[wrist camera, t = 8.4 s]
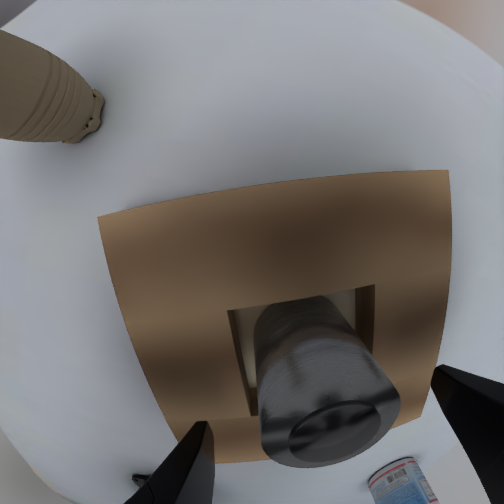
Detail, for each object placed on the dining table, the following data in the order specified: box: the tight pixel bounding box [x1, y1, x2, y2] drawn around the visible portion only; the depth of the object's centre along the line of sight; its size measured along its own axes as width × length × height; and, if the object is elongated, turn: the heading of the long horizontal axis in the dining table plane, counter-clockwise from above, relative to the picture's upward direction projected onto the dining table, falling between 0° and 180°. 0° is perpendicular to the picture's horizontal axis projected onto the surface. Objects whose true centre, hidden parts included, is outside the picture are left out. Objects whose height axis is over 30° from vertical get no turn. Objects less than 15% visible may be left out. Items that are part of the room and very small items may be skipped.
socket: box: [253, 295, 401, 468], centre depth 11 cm, size 5×5×7 cm
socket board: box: [97, 170, 452, 463], centre depth 13 cm, size 16×16×3 cm
